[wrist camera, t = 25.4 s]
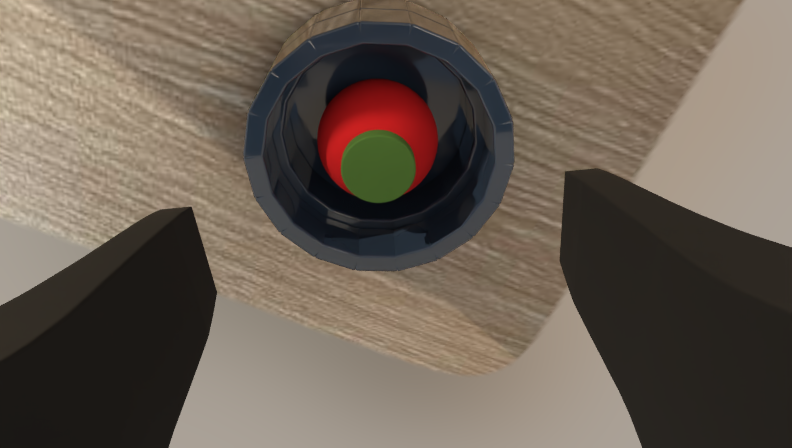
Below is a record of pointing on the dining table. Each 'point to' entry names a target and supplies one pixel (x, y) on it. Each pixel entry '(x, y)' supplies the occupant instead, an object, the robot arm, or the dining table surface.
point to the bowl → (427, 76)
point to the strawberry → (377, 139)
